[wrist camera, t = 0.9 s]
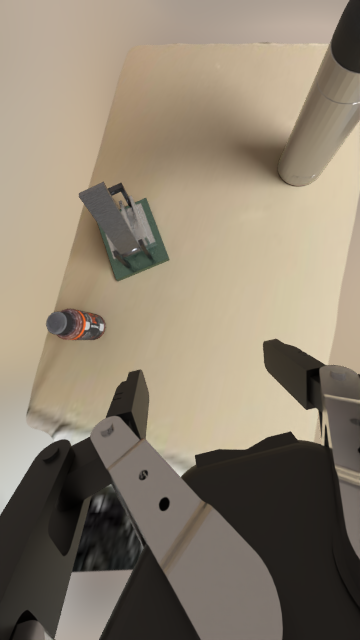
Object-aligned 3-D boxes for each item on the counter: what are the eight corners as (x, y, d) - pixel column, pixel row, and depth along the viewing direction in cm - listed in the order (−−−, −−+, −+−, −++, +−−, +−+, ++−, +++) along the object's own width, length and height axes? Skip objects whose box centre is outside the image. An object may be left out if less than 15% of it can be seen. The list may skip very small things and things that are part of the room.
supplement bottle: (111, 321, 42) (78, 316, 31) (98, 344, 42) (60, 347, 31) (90, 309, 43) (51, 300, 32) (78, 331, 43) (34, 329, 32)
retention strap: (141, 252, 37) (104, 186, 26) (124, 259, 37) (79, 197, 26) (140, 247, 38) (103, 181, 26) (123, 255, 38) (78, 192, 27)
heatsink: (169, 260, 42) (162, 243, 35) (118, 281, 43) (100, 269, 36) (147, 200, 44) (135, 172, 37) (98, 222, 45) (78, 199, 38)
